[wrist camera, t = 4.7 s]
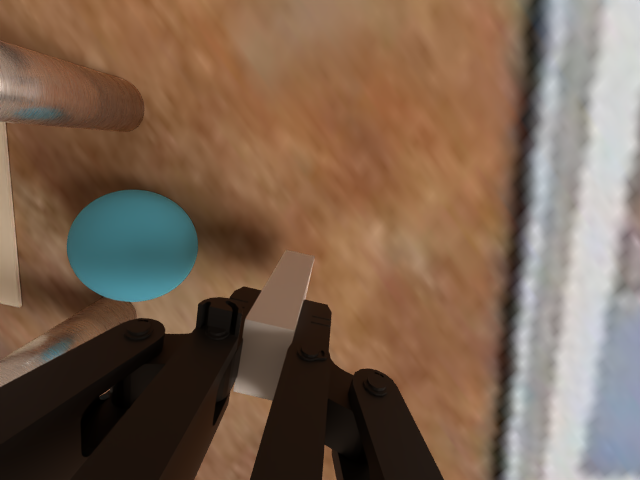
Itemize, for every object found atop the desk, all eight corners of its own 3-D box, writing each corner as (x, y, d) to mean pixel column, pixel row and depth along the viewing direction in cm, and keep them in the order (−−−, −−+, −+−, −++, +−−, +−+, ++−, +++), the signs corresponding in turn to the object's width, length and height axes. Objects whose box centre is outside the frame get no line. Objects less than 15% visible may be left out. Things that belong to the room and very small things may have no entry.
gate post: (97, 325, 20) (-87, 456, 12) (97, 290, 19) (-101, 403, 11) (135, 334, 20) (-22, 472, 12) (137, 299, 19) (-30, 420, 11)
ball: (39, 319, 13) (179, 330, 14) (30, 191, 11) (189, 215, 12) (103, 266, 18) (201, 277, 19) (103, 172, 16) (210, 191, 18)
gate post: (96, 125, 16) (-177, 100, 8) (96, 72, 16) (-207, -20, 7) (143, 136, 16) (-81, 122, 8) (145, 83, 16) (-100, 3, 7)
